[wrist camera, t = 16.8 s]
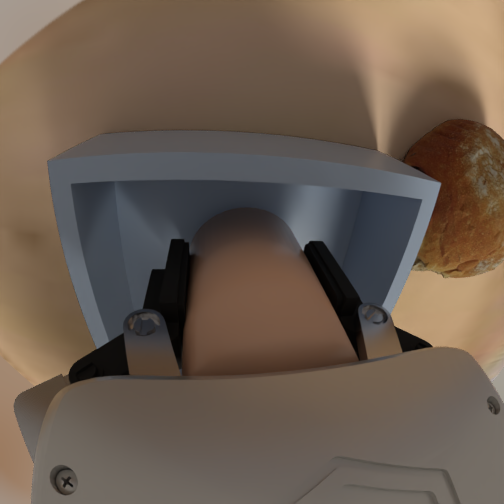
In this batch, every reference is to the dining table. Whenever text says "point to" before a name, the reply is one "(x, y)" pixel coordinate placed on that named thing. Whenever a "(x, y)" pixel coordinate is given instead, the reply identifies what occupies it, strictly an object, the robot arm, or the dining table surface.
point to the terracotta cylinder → (256, 301)
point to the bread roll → (462, 199)
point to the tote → (229, 208)
